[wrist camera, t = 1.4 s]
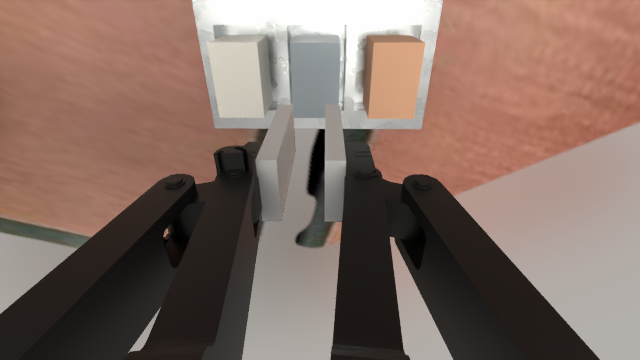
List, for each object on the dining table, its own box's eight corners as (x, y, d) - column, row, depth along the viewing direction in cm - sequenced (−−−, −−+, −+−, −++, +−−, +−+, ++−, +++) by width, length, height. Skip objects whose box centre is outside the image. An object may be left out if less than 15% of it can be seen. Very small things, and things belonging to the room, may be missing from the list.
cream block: (233, 101, 33) (219, 117, 28) (224, 35, 29) (206, 42, 25) (272, 101, 33) (264, 117, 28) (267, 35, 29) (257, 42, 25)
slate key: (297, 101, 32) (293, 117, 28) (295, 35, 29) (289, 42, 25) (336, 101, 32) (338, 118, 28) (338, 35, 29) (340, 42, 25)
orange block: (362, 101, 32) (368, 118, 28) (366, 35, 29) (373, 42, 25) (402, 102, 32) (413, 118, 28) (410, 35, 29) (425, 42, 25)
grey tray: (225, 115, 37) (214, 128, 34) (206, -2, 31) (191, -1, 28) (412, 116, 37) (421, 129, 34) (430, -2, 31) (443, -2, 28)
